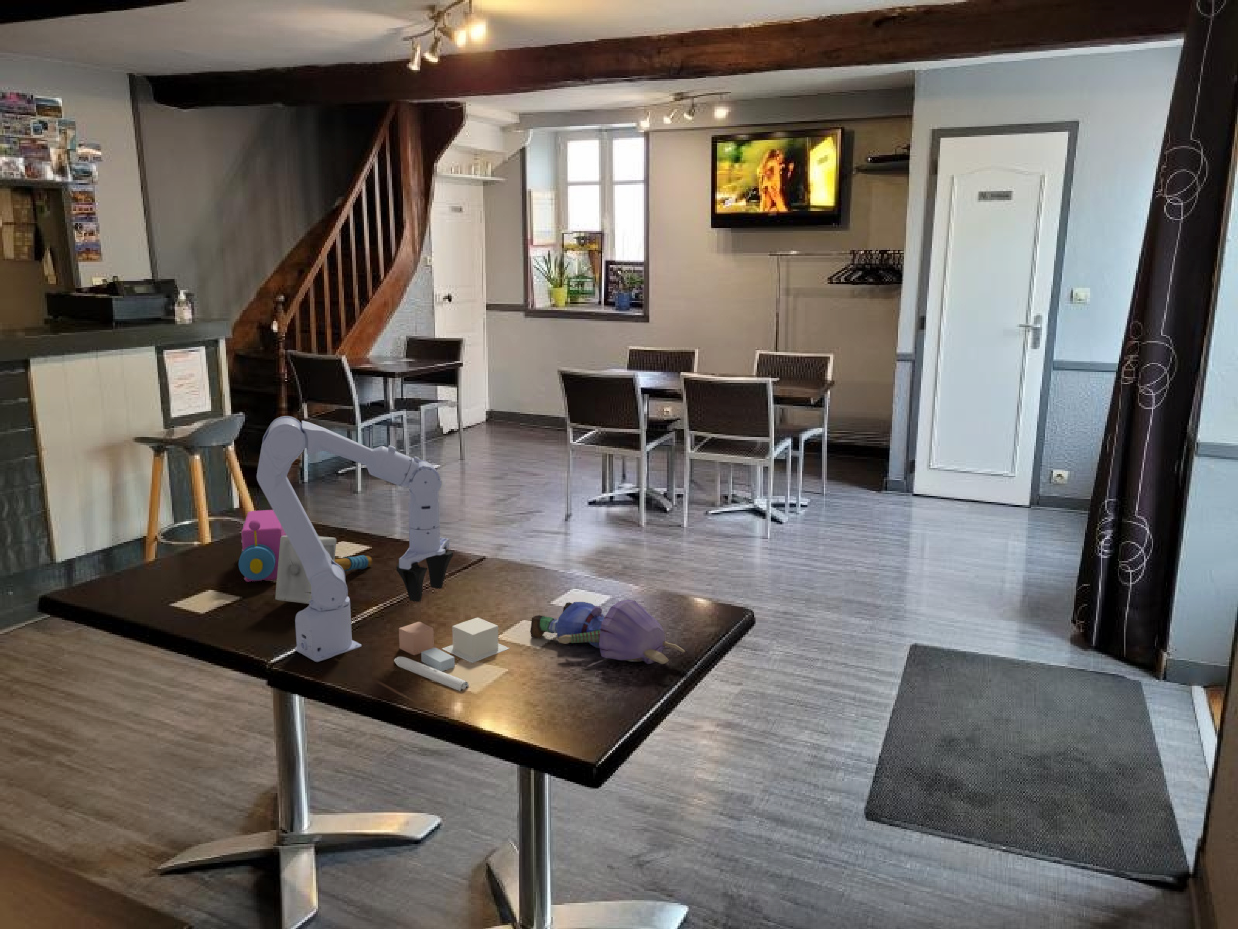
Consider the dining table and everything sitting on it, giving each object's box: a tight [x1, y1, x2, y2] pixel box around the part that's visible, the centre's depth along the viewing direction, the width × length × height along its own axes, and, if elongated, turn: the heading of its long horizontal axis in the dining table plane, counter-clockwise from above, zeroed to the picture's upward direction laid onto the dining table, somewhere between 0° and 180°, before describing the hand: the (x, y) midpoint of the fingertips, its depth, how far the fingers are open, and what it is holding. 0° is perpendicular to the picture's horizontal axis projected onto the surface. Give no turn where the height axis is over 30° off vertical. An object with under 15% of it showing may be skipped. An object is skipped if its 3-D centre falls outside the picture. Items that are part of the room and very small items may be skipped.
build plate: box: [441, 642, 511, 664], centre depth 171 cm, size 9×9×1 cm
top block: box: [398, 621, 435, 656], centre depth 170 cm, size 4×4×4 cm
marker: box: [393, 656, 470, 692], centre depth 160 cm, size 18×2×2 cm, turn 54°
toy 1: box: [238, 509, 287, 583], centre depth 213 cm, size 28×9×15 cm, turn 17°
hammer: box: [275, 535, 373, 605], centre depth 203 cm, size 8×13×30 cm
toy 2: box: [529, 599, 686, 665], centre depth 171 cm, size 18×11×30 cm
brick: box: [420, 646, 456, 672], centre depth 164 cm, size 6×3×2 cm, turn 45°
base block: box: [451, 617, 499, 658], centre depth 170 cm, size 6×6×4 cm
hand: (426, 594), depth 175 cm, fingers open, 7 cm apart
